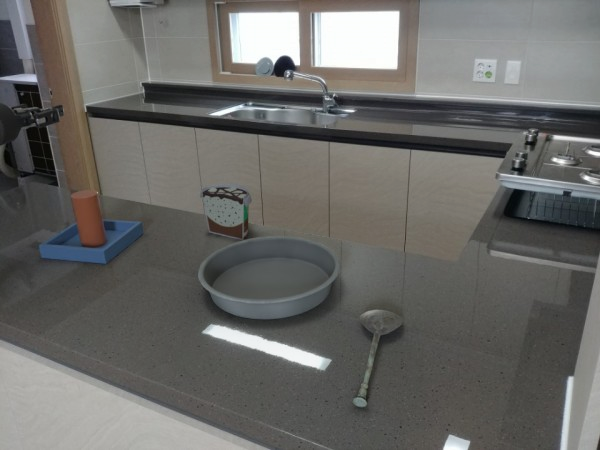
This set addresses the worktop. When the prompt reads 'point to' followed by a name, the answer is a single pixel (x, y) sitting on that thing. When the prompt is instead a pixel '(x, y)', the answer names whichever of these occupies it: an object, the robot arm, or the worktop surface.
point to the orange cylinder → (89, 218)
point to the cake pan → (269, 276)
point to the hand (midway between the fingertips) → (44, 109)
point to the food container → (227, 209)
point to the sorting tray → (70, 248)
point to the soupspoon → (375, 342)
